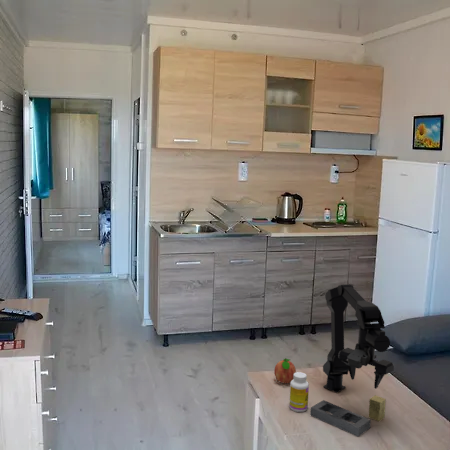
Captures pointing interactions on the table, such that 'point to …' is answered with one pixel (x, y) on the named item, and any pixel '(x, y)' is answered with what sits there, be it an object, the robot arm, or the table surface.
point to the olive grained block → (377, 408)
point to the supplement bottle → (299, 392)
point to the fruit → (284, 371)
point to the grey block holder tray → (340, 418)
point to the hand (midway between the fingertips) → (364, 383)
